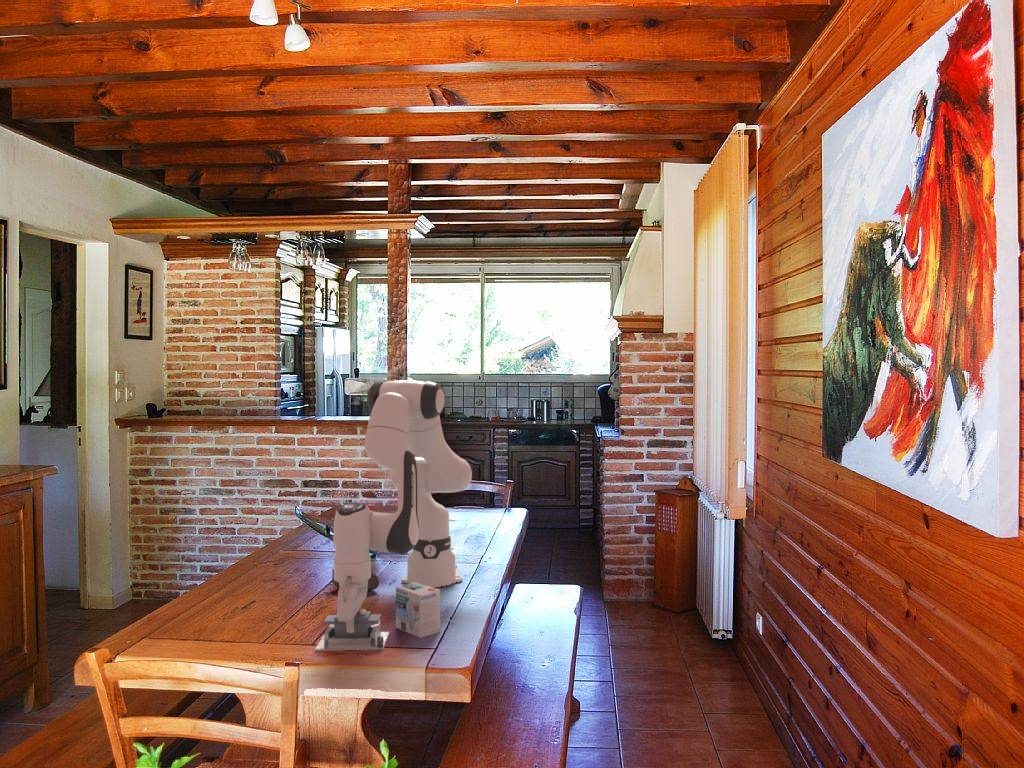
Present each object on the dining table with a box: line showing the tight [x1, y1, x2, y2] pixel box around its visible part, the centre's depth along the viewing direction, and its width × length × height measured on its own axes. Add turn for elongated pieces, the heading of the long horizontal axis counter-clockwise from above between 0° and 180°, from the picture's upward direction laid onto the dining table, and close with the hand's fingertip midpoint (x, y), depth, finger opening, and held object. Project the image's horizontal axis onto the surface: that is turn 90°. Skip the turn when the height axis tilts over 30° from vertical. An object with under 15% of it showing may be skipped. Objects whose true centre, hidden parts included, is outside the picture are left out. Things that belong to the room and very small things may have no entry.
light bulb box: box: [395, 582, 441, 639], centre depth 193 cm, size 11×7×11 cm, turn 45°
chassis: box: [314, 620, 390, 652], centre depth 185 cm, size 11×16×4 cm
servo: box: [323, 608, 382, 637], centre depth 185 cm, size 4×13×6 cm, turn 91°
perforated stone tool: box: [331, 568, 380, 592], centre depth 228 cm, size 15×5×7 cm, turn 70°
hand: (353, 627), depth 185 cm, fingers closed on servo, 4 cm apart
